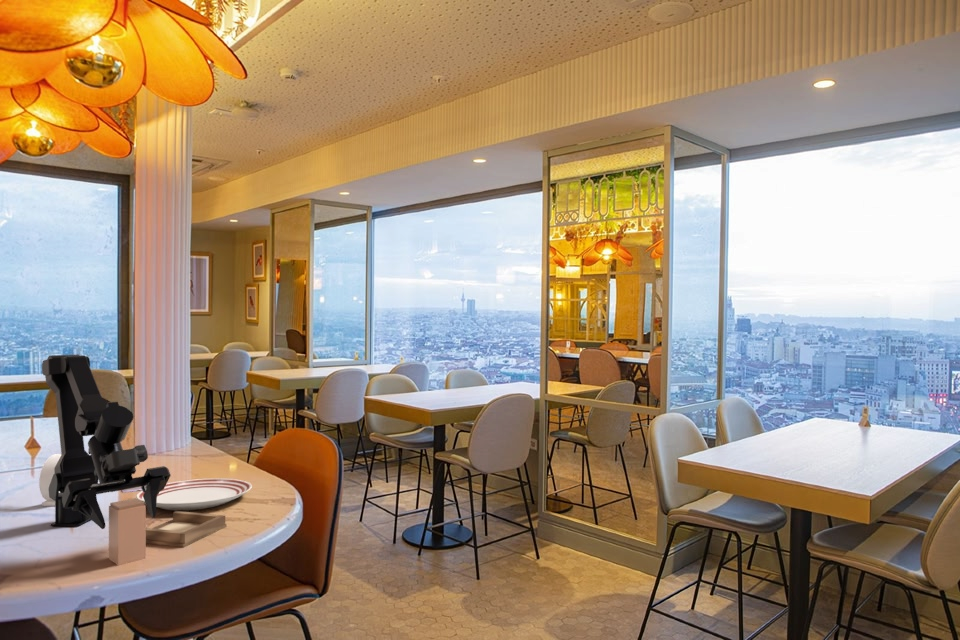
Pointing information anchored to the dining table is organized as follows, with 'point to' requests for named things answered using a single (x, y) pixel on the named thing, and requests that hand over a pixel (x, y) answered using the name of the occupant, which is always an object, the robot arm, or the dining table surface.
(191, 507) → the dinner plate
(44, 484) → the headphone stand
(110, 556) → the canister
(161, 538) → the square wooden tray
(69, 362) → the robot arm
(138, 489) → the mobile phone
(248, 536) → the dining table surface
